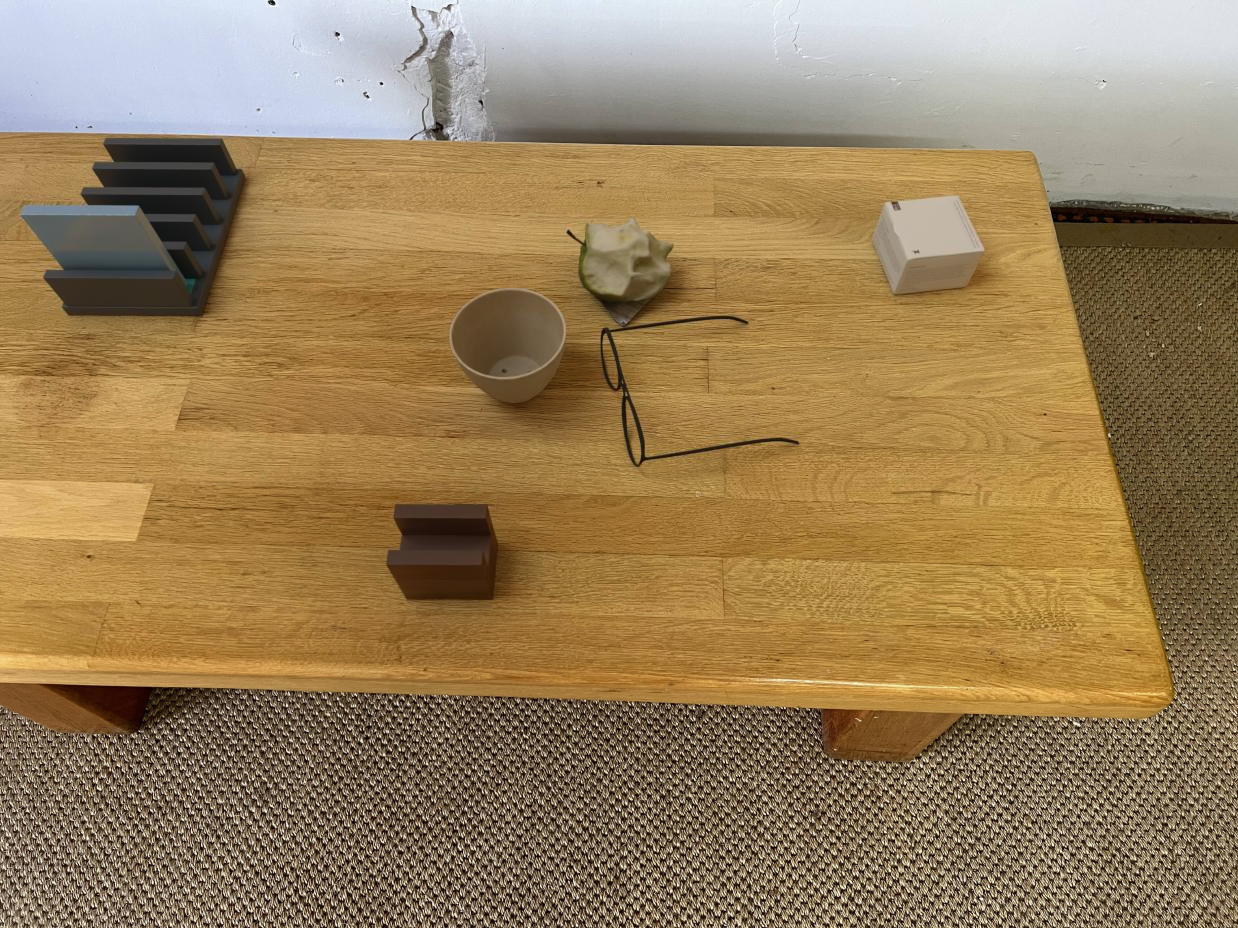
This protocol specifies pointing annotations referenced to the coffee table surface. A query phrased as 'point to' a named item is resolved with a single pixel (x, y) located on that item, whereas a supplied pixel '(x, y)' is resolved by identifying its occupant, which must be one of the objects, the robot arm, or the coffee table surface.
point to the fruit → (622, 267)
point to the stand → (444, 552)
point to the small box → (927, 244)
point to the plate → (99, 237)
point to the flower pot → (509, 342)
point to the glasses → (623, 411)
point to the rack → (160, 225)
